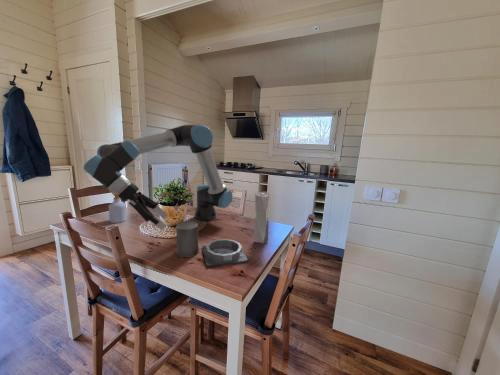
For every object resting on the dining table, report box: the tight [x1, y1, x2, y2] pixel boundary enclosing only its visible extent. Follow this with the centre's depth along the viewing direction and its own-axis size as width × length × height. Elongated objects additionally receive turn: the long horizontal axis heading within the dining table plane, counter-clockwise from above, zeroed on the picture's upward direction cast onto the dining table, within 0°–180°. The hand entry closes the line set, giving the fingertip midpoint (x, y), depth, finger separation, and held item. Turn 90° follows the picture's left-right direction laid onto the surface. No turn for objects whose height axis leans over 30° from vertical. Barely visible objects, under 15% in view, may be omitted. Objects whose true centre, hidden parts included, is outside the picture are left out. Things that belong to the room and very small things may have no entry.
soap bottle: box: [108, 192, 127, 224], centre depth 131 cm, size 9×9×25 cm
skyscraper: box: [253, 191, 270, 245], centre depth 112 cm, size 8×8×28 cm
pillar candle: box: [175, 220, 199, 258], centre depth 98 cm, size 10×10×15 cm
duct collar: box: [201, 238, 249, 269], centre depth 98 cm, size 18×18×4 cm
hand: (165, 221), depth 93 cm, fingers open, 13 cm apart
